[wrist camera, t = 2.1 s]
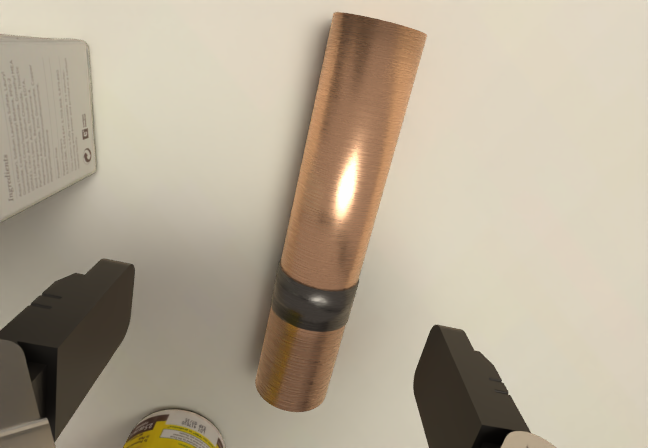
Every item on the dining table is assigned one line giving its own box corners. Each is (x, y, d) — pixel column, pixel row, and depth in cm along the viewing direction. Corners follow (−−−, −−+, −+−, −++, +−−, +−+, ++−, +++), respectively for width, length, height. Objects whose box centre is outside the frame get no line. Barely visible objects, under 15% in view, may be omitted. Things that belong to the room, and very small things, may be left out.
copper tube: (312, 8, 17) (383, 18, 15) (377, 29, 20) (447, 41, 17) (240, 372, 23) (283, 423, 20) (297, 353, 25) (341, 396, 23)
